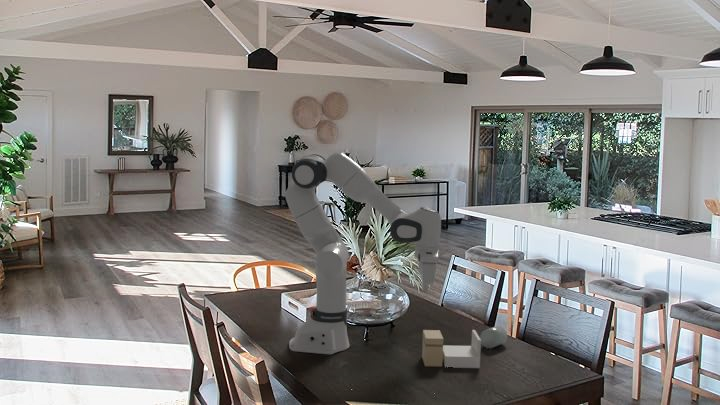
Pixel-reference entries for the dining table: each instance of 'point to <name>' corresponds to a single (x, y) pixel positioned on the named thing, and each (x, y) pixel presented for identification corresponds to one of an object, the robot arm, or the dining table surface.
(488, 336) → the grey rounded stone
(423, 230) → the robot arm
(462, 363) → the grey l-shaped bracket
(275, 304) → the dining table surface
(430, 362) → the carton
